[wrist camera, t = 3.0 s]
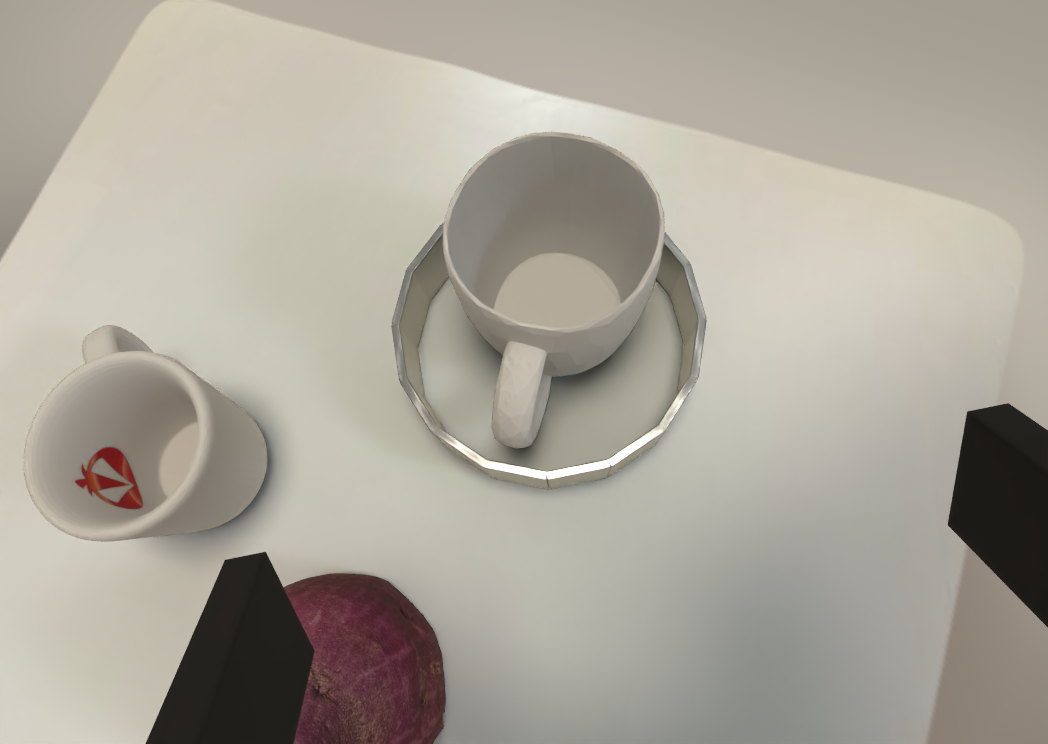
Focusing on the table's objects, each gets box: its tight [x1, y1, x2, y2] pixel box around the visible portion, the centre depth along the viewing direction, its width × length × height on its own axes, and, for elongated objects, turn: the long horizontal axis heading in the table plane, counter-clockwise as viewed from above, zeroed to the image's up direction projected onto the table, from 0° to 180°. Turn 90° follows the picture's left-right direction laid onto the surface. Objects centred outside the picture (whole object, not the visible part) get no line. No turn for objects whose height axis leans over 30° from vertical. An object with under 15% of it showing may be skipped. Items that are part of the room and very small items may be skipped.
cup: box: [24, 325, 267, 541], centre depth 31 cm, size 11×8×8 cm
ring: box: [392, 223, 706, 489], centre depth 33 cm, size 15×15×4 cm
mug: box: [443, 132, 665, 448], centre depth 30 cm, size 13×9×10 cm
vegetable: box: [284, 574, 446, 744], centre depth 25 cm, size 10×10×15 cm
